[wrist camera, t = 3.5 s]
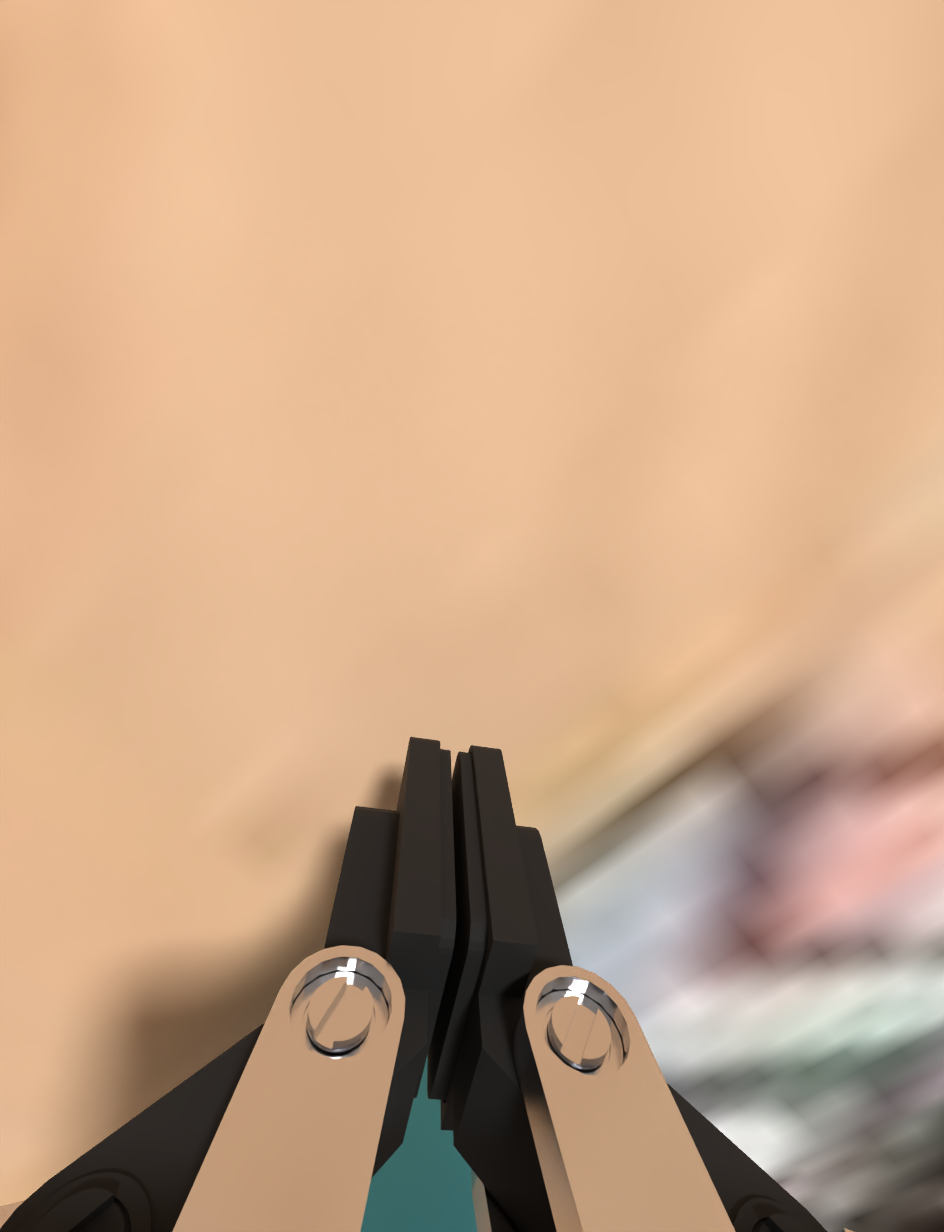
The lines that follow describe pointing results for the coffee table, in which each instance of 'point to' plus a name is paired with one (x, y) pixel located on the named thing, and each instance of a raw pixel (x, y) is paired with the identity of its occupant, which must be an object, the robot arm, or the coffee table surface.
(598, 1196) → the robot arm
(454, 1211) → the ball
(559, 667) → the coffee table surface
